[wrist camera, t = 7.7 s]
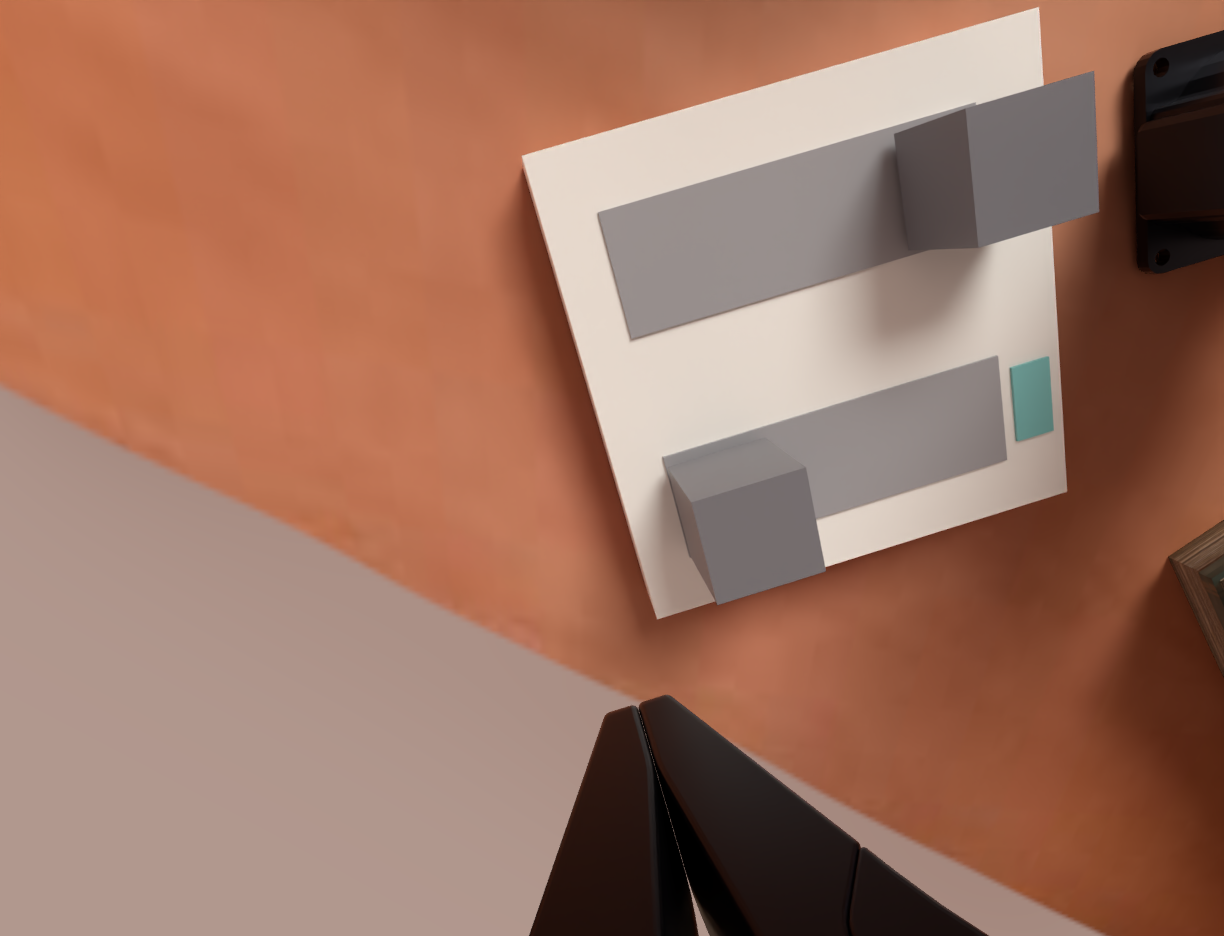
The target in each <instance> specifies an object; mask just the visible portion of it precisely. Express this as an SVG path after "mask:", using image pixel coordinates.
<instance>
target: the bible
mask: <svg viewBox="0 0 1224 936" xmlns="http://www.w3.org/2000/svg"><path fill="white" fill-rule="evenodd" d="M1168 558H1169V560H1170V562H1171V564H1172V567H1173V569H1174V571H1175V573H1176V575H1177V577H1178V580H1179V582H1180V584H1181V586H1182V588H1183V590H1184V593H1185V595H1186V597H1187V599H1188V601H1189V603H1190V606H1191V608H1192V610H1193V612H1194V614H1195V616H1196V619H1197V621H1198V623H1199V625H1200V627H1201V629H1202V632H1203V634H1204V636H1205V638H1206V640H1207V642H1208V645H1209V647H1210V649H1211V651H1212V653H1213V655H1214V658H1215V660H1216V662H1217V664H1218V666H1219V668H1220V671H1221V673H1222V675H1223V677H1224V520H1223V521H1221V522H1220V523H1218V524H1217V525H1215V526H1214V527H1212V528H1211V529H1209V530H1208V531H1206V532H1205V533H1203V534H1202V535H1200V536H1199V537H1197V538H1196V539H1194V540H1193V541H1191V542H1190V543H1188V544H1187V545H1185V546H1184V547H1182V548H1181V549H1179V550H1178V551H1176V552H1175V553H1173V554H1172V555H1170V556H1169V557H1168Z"/></svg>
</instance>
